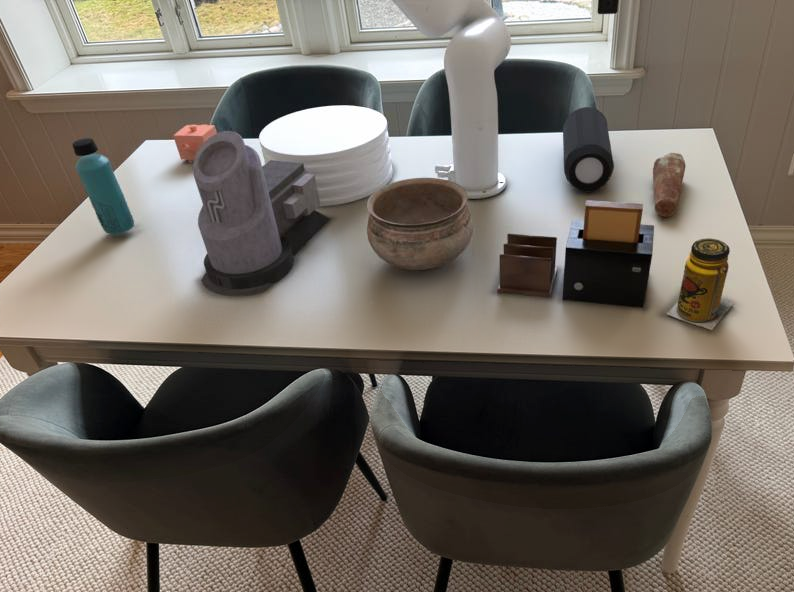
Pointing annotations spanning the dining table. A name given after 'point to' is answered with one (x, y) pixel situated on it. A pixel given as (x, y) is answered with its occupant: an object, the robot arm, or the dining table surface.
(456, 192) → the cooking pot
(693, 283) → the condiment
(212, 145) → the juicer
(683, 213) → the dining table surface
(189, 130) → the pink cube teapot
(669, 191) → the reddish-brown tapered rod
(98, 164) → the beverage bottle
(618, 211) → the toast
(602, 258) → the toaster
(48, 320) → the dining table surface
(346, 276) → the dining table surface
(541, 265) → the rack
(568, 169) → the portable speaker
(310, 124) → the plate stack
